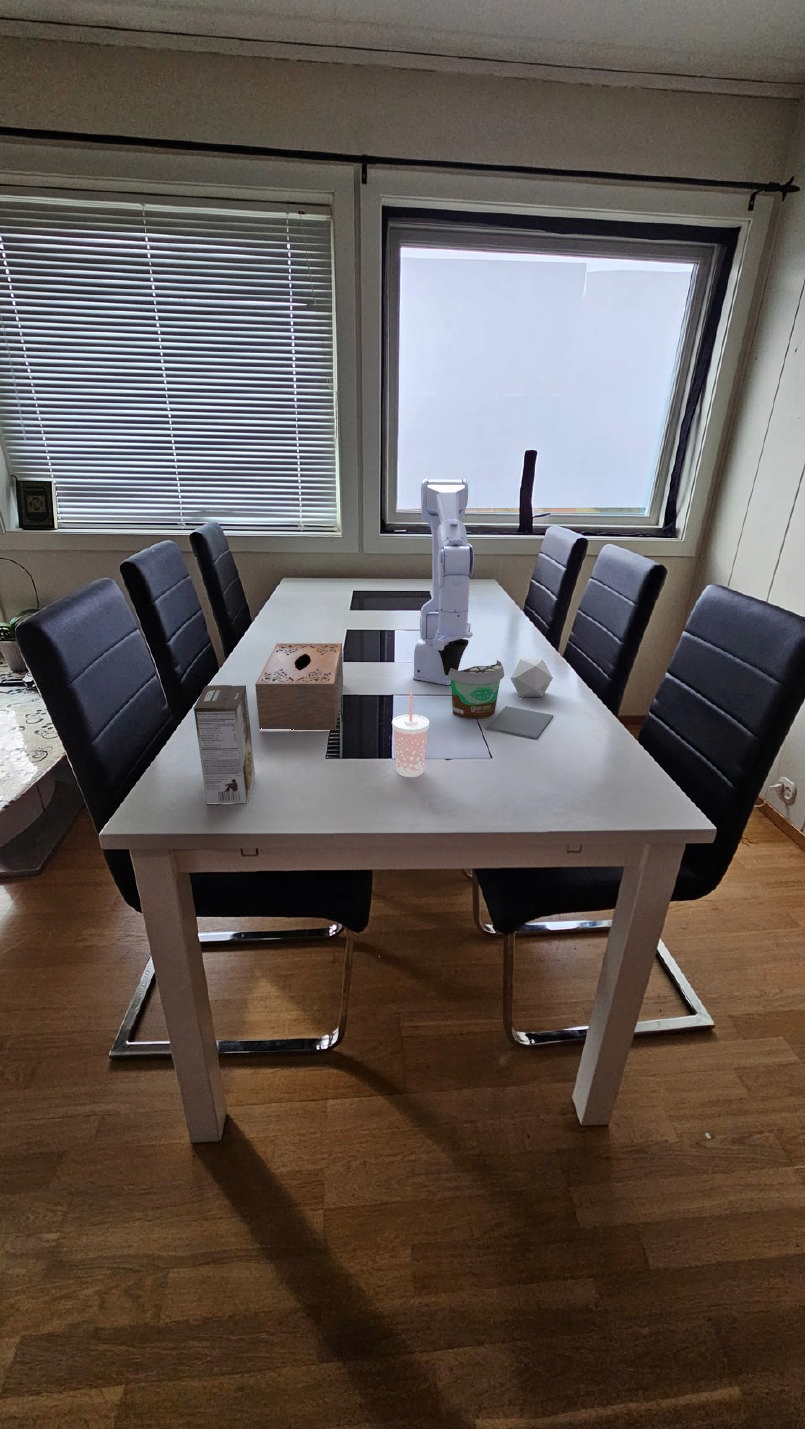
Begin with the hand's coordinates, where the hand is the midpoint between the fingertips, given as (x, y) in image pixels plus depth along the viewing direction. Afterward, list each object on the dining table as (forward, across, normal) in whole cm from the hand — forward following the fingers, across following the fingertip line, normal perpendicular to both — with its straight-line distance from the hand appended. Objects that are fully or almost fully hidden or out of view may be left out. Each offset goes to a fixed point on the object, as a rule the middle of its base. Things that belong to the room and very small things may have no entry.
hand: (450, 674), depth 126 cm
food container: (+8, 0, -7) cm, 10 cm away
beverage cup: (+8, -28, -5) cm, 29 cm away
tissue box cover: (+8, -13, +27) cm, 31 cm away
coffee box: (+8, -47, +17) cm, 51 cm away
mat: (+7, 0, -15) cm, 17 cm away
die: (+8, +16, -12) cm, 22 cm away
